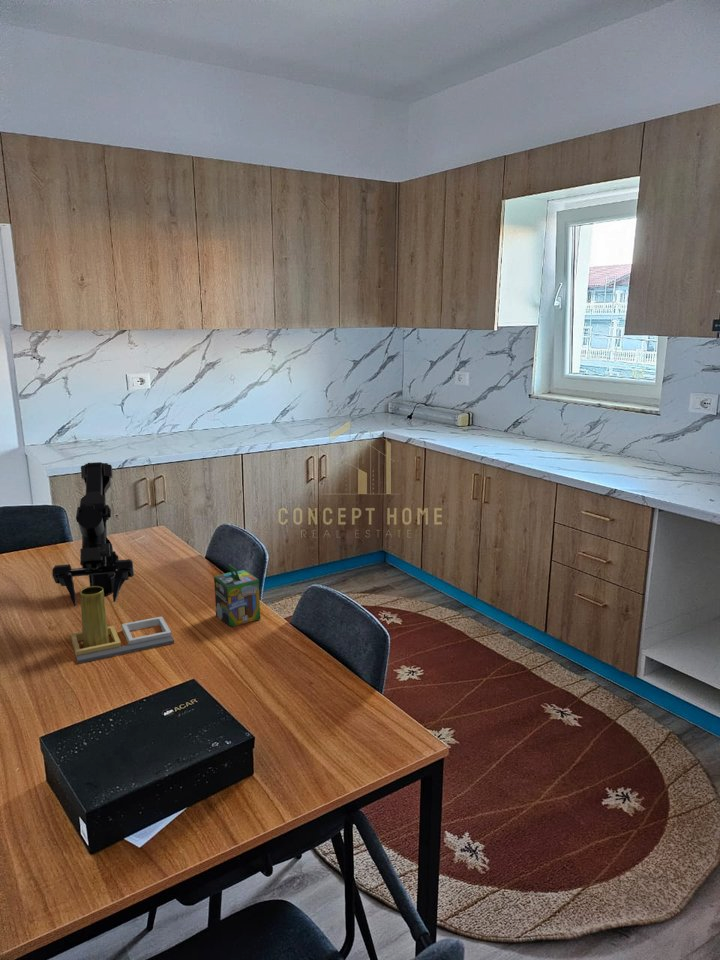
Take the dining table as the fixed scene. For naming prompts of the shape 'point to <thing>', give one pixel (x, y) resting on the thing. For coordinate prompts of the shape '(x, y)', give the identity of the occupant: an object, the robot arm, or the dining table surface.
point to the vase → (93, 617)
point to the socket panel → (134, 643)
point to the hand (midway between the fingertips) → (94, 603)
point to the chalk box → (237, 597)
